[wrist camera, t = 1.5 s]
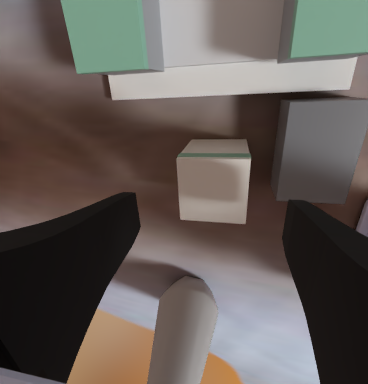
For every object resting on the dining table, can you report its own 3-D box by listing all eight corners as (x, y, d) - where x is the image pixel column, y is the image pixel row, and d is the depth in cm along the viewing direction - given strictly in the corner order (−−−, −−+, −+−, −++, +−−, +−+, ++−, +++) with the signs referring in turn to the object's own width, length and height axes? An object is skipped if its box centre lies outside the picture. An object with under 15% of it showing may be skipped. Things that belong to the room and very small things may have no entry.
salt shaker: (199, 316, 25) (170, 510, 14) (156, 290, 25) (89, 468, 13) (230, 289, 22) (226, 504, 11) (183, 260, 22) (127, 451, 11)
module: (243, 189, 18) (246, 224, 13) (192, 187, 18) (179, 220, 14) (246, 138, 16) (251, 158, 11) (191, 138, 17) (175, 158, 12)
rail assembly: (343, 89, 13) (399, 91, 9) (117, 99, 16) (72, 105, 12) (381, -74, 10) (496, -198, 6) (97, -25, 14) (27, -81, 9)
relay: (327, 184, 16) (344, 204, 14) (269, 183, 17) (276, 200, 15) (348, 96, 14) (375, 99, 11) (280, 99, 15) (290, 102, 12)
